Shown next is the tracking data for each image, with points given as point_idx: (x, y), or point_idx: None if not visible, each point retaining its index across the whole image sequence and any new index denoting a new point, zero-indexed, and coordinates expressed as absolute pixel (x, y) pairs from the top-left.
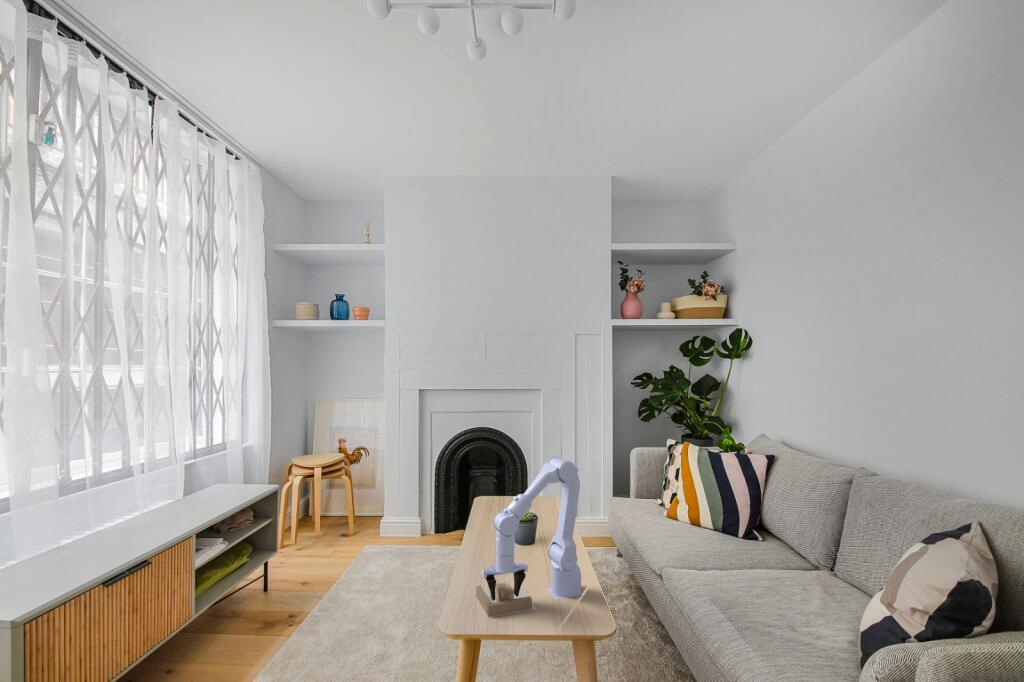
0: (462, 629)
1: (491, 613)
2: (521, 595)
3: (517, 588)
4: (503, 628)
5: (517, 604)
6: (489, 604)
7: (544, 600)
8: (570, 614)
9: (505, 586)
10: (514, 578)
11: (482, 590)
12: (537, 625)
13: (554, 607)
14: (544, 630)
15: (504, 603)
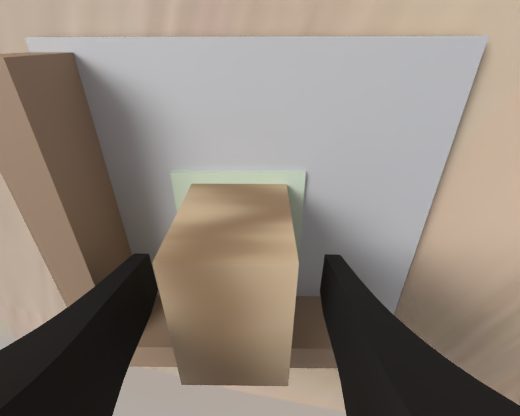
0: (6, 335)
1: None
2: (405, 173)
3: (335, 358)
4: None
5: None
6: None
7: (503, 244)
8: (497, 365)
9: (242, 325)
10: (368, 358)
11: (39, 180)
12: (321, 382)
13: (487, 312)
14: (328, 404)
15: None
